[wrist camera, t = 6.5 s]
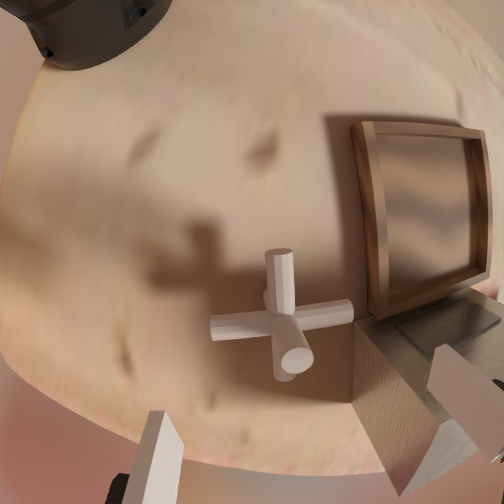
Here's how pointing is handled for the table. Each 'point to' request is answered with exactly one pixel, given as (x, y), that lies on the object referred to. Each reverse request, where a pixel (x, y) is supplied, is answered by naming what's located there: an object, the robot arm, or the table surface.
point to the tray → (422, 211)
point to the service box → (421, 382)
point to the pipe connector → (282, 318)
